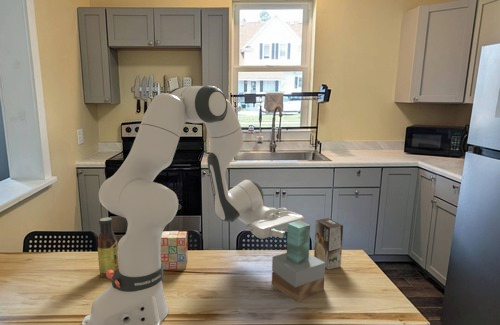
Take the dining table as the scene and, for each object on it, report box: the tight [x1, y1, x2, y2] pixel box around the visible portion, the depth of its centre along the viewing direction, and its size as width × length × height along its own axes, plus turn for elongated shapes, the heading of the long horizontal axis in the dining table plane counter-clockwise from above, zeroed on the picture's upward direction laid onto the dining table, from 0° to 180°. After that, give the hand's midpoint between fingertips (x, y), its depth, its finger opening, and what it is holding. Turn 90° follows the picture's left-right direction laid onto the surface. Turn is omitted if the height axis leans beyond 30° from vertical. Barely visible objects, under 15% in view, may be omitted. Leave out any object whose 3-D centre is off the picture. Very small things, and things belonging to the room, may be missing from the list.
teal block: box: [286, 221, 311, 265], centre depth 108 cm, size 5×5×12 cm
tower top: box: [271, 252, 326, 288], centre depth 109 cm, size 12×12×5 cm
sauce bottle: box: [96, 216, 119, 278], centre depth 116 cm, size 7×6×20 cm
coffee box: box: [313, 217, 344, 270], centre depth 126 cm, size 9×6×16 cm
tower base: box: [271, 271, 325, 303], centre depth 110 cm, size 12×12×5 cm
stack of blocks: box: [161, 230, 188, 270], centre depth 123 cm, size 21×6×12 cm, turn 94°
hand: (294, 232), depth 109 cm, fingers open, 8 cm apart
